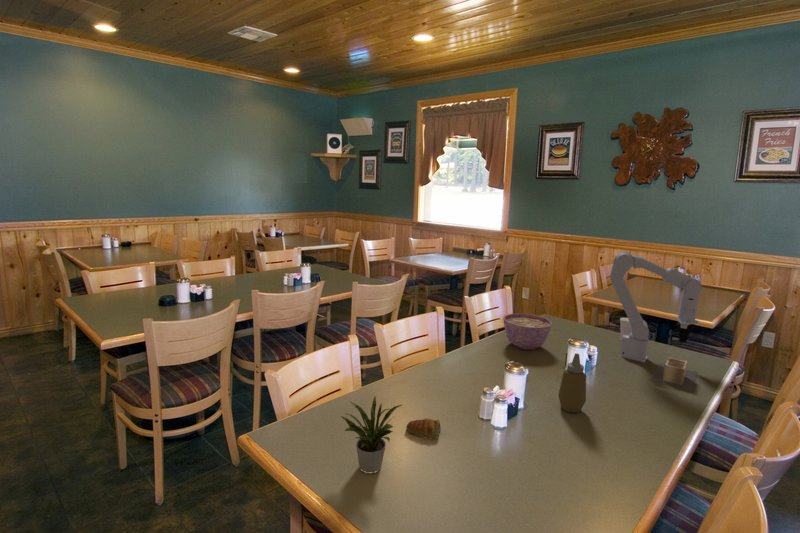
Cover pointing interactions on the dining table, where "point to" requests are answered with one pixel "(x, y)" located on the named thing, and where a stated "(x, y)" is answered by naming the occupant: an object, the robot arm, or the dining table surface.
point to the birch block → (674, 371)
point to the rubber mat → (687, 383)
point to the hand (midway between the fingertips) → (682, 341)
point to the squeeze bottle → (573, 387)
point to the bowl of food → (526, 330)
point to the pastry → (425, 428)
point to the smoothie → (625, 327)
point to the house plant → (370, 437)
